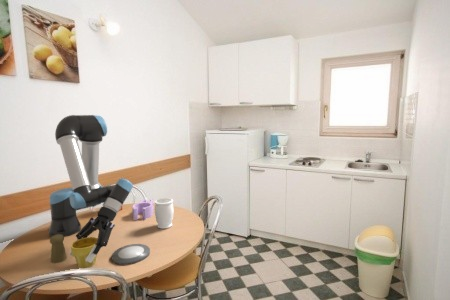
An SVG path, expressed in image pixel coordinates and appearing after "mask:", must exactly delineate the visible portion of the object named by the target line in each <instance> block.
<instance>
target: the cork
mask: <svg viewBox="0 0 450 300" xmlns="http://www.w3.org/2000/svg"><path fill="white" fill-rule="evenodd" d="M64 240H65V236H63V235H61V234H57V235H54V236H52V237H51V236H50V238H49V243H50V244H51V250H50V251H51V253H50V263H52V264H57V263H62V262H64V261H66V260H67V258H68V256H67V253H66V250H65V244H64Z"/></svg>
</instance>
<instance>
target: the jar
mask: <svg viewBox="0 0 450 300" xmlns="http://www.w3.org/2000/svg"><path fill="white" fill-rule="evenodd" d="M173 202H174V199H173V198H170V197H163V198H159V199H156V200H154V201H153V204H155V206H154V215H155V216H154V217H155V220H156V222H157V228H158V229H162V230H163V229H164V230H165V229H169V228H172V227H173V219H174V214H175V211H174V204H173Z"/></svg>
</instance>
